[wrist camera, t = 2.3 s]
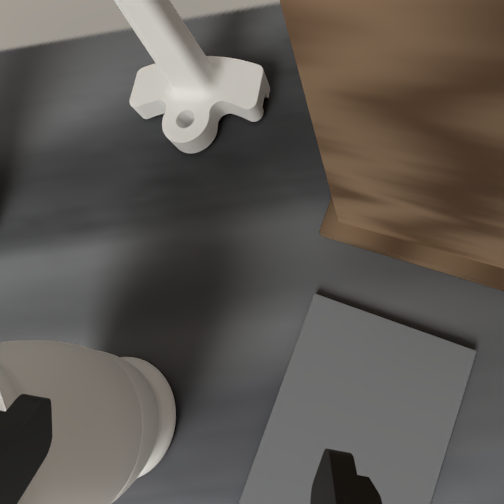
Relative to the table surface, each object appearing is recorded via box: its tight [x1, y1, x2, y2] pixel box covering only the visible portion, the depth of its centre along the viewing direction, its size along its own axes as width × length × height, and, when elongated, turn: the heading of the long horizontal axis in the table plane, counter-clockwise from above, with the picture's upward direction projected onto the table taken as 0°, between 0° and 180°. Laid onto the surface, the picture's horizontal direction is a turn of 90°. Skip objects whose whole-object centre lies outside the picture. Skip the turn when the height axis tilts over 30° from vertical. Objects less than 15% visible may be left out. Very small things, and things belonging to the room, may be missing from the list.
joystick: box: [114, 0, 270, 153], centre depth 24 cm, size 11×8×20 cm
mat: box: [239, 293, 476, 504], centre depth 24 cm, size 10×16×1 cm, turn 159°
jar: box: [0, 340, 176, 504], centre depth 22 cm, size 11×10×15 cm
